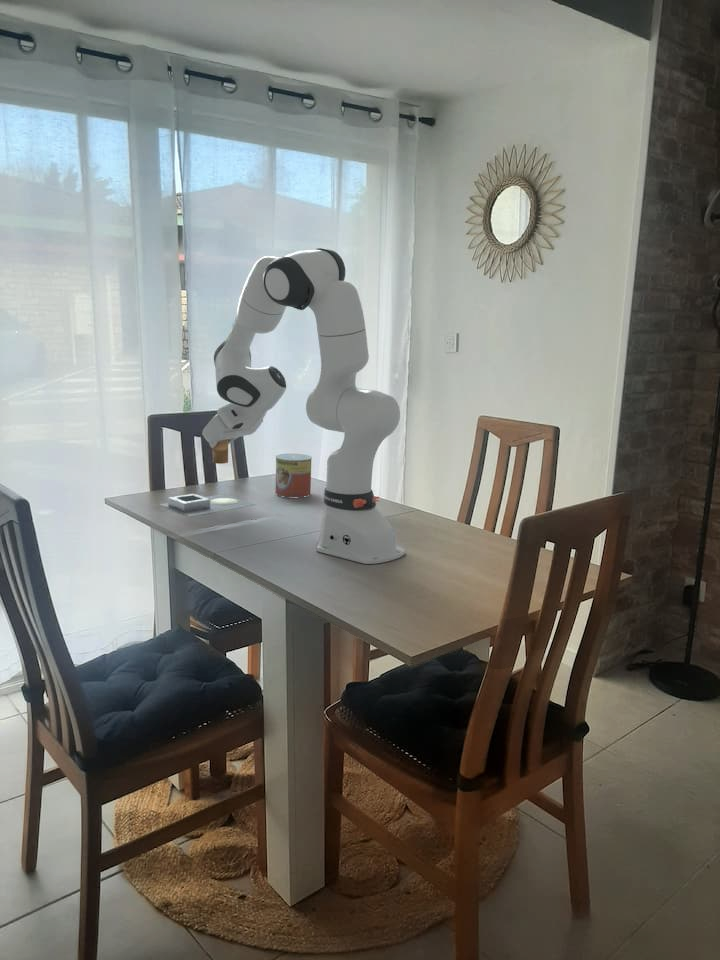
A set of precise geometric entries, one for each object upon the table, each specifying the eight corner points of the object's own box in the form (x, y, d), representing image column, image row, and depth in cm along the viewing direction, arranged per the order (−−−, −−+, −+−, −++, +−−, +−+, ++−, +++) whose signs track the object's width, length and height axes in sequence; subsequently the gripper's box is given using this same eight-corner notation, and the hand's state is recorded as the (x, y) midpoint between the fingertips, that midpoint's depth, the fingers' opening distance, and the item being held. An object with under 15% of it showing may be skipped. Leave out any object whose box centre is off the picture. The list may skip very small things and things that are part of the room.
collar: (210, 507, 205) (210, 499, 204) (184, 512, 199) (184, 503, 198) (194, 501, 210) (194, 493, 210) (168, 505, 205) (168, 497, 204)
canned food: (267, 493, 228) (268, 456, 226) (291, 488, 238) (291, 452, 235) (294, 500, 222) (295, 461, 220) (317, 494, 231) (319, 457, 229)
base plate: (255, 508, 210) (255, 504, 210) (189, 520, 195) (189, 516, 195) (224, 497, 221) (224, 493, 221) (159, 508, 206) (159, 504, 206)
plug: (231, 462, 208) (231, 431, 206) (218, 464, 205) (218, 432, 203) (222, 459, 211) (222, 429, 209) (209, 461, 208) (209, 430, 206)
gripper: (261, 401, 210) (235, 431, 217) (215, 408, 193) (188, 440, 199) (274, 418, 209) (247, 447, 216) (228, 426, 191) (200, 458, 198)
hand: (218, 444), depth 207 cm, fingers closed on plug, 4 cm apart
